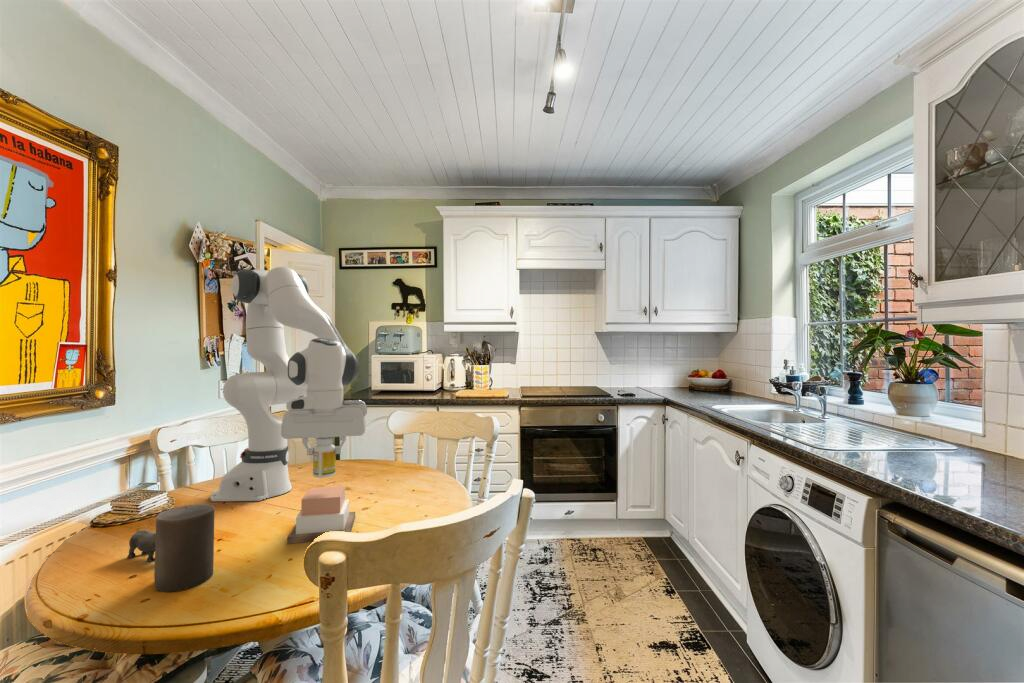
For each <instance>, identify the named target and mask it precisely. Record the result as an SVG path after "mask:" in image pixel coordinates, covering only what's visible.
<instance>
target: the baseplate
mask: <svg viewBox="0 0 1024 683" xmlns="http://www.w3.org/2000/svg"><path fill="white" fill-rule="evenodd" d="M355 520H356V511H349V515H348V518H347V522H346V525H345V528H344V530H340V531H345V532H351V533H352V530H353V526H354V523H355ZM328 532H329V531H328ZM323 533H325V532H317V533H305V534H296V523H295V525H294V526H293V528H292V530H291V531H290V533H289V534H288V536H287V540H286V541H287V544H288V545H289V544H298V543H309V542H314V541H313V540H314V539H315V538H317V537H318V536H320V535H322V534H323Z"/></svg>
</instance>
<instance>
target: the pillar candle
mask: <svg viewBox="0 0 1024 683" xmlns="http://www.w3.org/2000/svg"><path fill="white" fill-rule="evenodd" d="M155 518H156V519H155V533H156V544H155V552H154V573H153V574H154V576H153V577H154V578H153V580H154V581H153V582H154V583H153V584H154V589H155V590H156V591H159V592H164V593H165V592H166V593H168V592H169V593H172V592H178V591H183V590H187V589H191V588H194V587H196V586H197V587H198V585H201V584H203V583H205V582H206V581H208V580H209V579H211V577H212V576H213V575H214V560H215V559H214V556H215V553H214V551H215V506H214V505H213V504H207V503H197V504H190V505H189V504H188V505H186V504H185V505H183V506H178V507H174V508H170V509H167V510H163V511H161V512H159V514H157V515H156V517H155Z"/></svg>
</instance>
